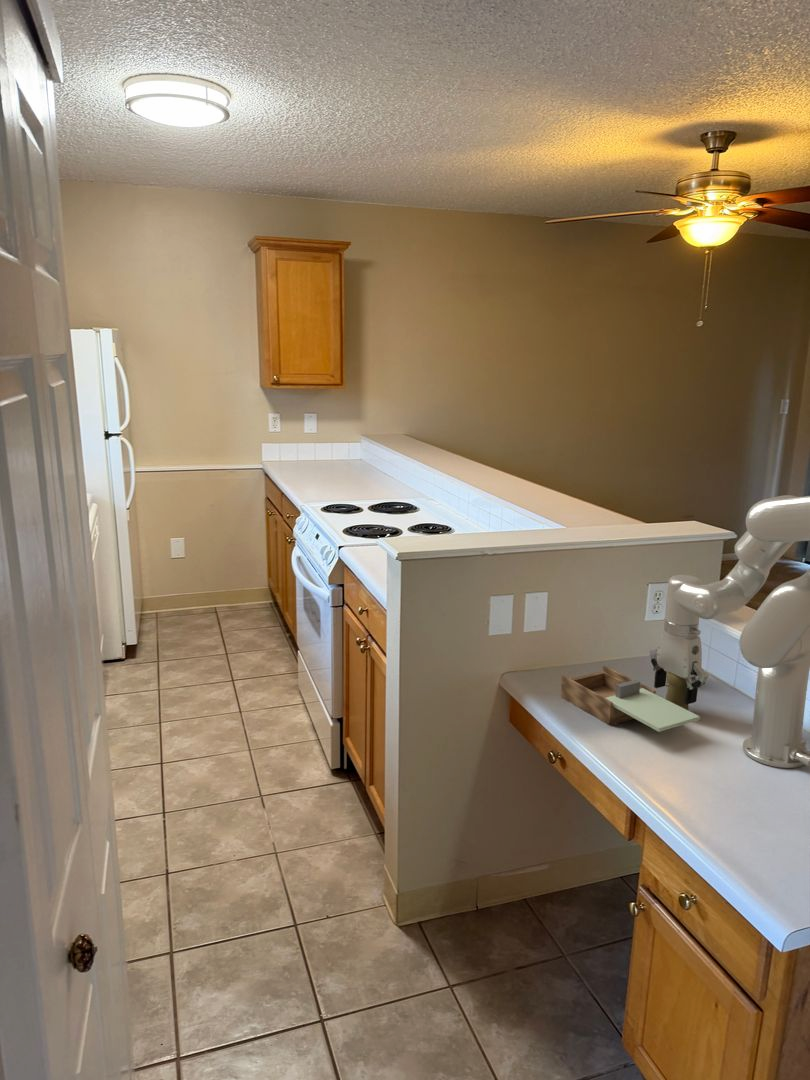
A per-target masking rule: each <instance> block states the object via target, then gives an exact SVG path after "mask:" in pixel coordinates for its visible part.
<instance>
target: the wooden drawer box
mask: <svg viewBox="0 0 810 1080" xmlns="http://www.w3.org/2000/svg"><path fill="white" fill-rule="evenodd" d="M632 680H634V679H633V678H630V677H628V676H627V675H625V674H622V673H621V672H618V671H617V670H614V669H613V668H610V667H609V666H606V665H602V671H598V672H593V673H589V674H585V675H581V676H577V677H573V678H569V677H568V676H566V675H564V674H563V675H561V685H560V686H561V688H560V689H561V693H560V697H561V698H562V699H564V700H566V701H567V702H569V703H570V704H572V705H573V706H575V707H577V708H579V709H581V710H582V711H584V712H585V713H587V714H589V715H590V716H592V717H594V718H595V719H597V720H599V721H601V722H603V723H604V724H606V725H608V726H613V725H616V724H620V723H623V722H627V721H631V720H634V719H635V718H633V717H631V716H629V715H628V714H626V713H624V712H622V711H620V710H619V709H617V708H615V707H613V706H612V702H611V701H610V700H608V699H606V697H610V696H614V695H616V684H620V683H624V682H628V681H632ZM641 688H644V689H646V690H648V691H650V692H652V693H654V694H656V690H655V689H653V688H651V687H650V686H647V685H645V684H643V683H641V682H640V689H641ZM635 720H636V719H635Z"/></svg>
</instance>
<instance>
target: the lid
mask: <svg viewBox="0 0 810 1080" xmlns="http://www.w3.org/2000/svg"><path fill="white" fill-rule="evenodd" d="M640 683H641V681H638V680H637V679H633V680H632V681H628V682H624V683H620V684H616V695H614V696H610V697H606V699H608V700H610V701H611V702H612V706H613V707H615V708H617V709H619V710H620V711H622V712H624V713H626V714H628V715H629V716H631V717H633V718H635V720H637V721H638V722H640V723H642V724H644V725H646V726H648V727H650V728H651V729H653V730H654V731H657V732H659V733H661V732H662V731H666V730H670V729H673V728H677V727H679V726H680V727H681V726H684V725H686V724H689V723H693V722H697V721H700V718H701V716H699V715H698V714H695V713H694V712H692V711H690V710H689V711H688V710H686V709H684V708H682V707H680V706H678V705H676V704H674V703H672V702H670V701H668V700H666V698H664V697H663V696H662V697H661V696H659V695H658V694H656V693H655V694H654V693H652V692H650V691H648V690H646V689H644V688H641V689H640Z"/></svg>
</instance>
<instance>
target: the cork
mask: <svg viewBox="0 0 810 1080" xmlns="http://www.w3.org/2000/svg"><path fill="white" fill-rule="evenodd" d="M667 682H668V683H669V686H668V688H667V691H666V696H665V699H666V700H668V701H670V702H672V703H674V704H676V705H678V706H680V707H682V708H684V709H686V710H688V711H690V710H689V709H690V708H689V704H685V692H686V688H688V686H687V683H686V681H685V679H684V678H681V677H679V676H677V675H675V674H673V673H671V672H669V673H668V675H667Z"/></svg>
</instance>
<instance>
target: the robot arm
mask: <svg viewBox="0 0 810 1080" xmlns="http://www.w3.org/2000/svg"><path fill="white" fill-rule="evenodd" d="M745 527H746V532H744V533H743V534H742V536H741V537H740V538H739V539H738V540H737V541H736V543H735V544H734V553H735V555H736V557H737V559H738V561H737V563H736V564H735V566H734V567H733V568H732V569H731V570H730V571H729V572H728V574H726V576H725V577H724V578H723V579H721V580H718V581H715V582H711V583H707V584H703V582H702V580H701V579H700V578H699V577H697V576H693V575H690V574H689V575H688V574H676V575H673V576H671V577H670V578H669V579H668V582H667V590H666V591H667V592H666V602H665V614H664V623H663V624H664V625H663V628H662V630H661V633H660V636H659V641H658V644H657V645H658V646H657V648H654V649H650V650H649V651H648V652H649V656H650V662H651V664H652V669H653V671H654V682H653V687H654V688H655V689H660V688H664V687H665V686H666V674H667V671H669V672H671V673H673V674H675V675H677V676H679V677H681V678H684V679H685V681H686V683H687V688H686V692H685V704H688V705H689V704H695V703H696V702H697V697H698V690H699V689H698V688H701V687H702V686H704V685H705V684H706V683H705V682H706V681H707V680H708V679H709V674H708V673H707V672H706V671H705V670H704V668H703V667H702V664H703V663H702V661H703V660H702V659H703V656H702V654H703V653H702V650H703V649H702V641H701V637H700V635H701V633H702V632H701V630H700V629H699V623H700V619H702V620H714V619H717V618H720V617H723V616H725V615H728V614H731V613H735V612H737V611H738V610H740V609H742V608H743V607H744V606H746V605H747V604H748V603H749V602H750V601H751V599H753V597H755V595H756V594H757V593H758V592H759V591H760V590H761V588H763V586H764V584H765V583H766V581H767V579H768V577H769V575H770V570H772V568H773V567H774V565H775V564H776V563H777V562H779V560H780V558H782V556H783V555H784V554H785V553H787V551H788V550H789V548H790V547H791V546H793V544H795V542H809V541H810V495H805V496H796V495H791V494H786V495H779V496H774V497H770V498H764V499H762V500H759V501H758V502H756V503H754V504H753V505H752V506H751V507H749V510H748V511H747V514H746V516H745ZM738 643H739V650H740V653H741V655H742V657H743V658H744V660H745V661H746V662H747V663H749V665H752V666H753V667H756V668H758V671H757V675H756V676H757V678H756V685H755V695H754V705H753V706H754V707H753V715H752V717H753V719H752V726H751V736H750V737H747V738H746V739H744V740H743V742H742V750H743V752H744V753H745V755H747V756H748V757H749V758H750V759H753V760H754V761H756V762H758V763H760V764H763V765H766V766H770V767H775V768H783V769H792V768H793V769H795V768H798V767H801V766H804V765H806V766H808V767H810V750H808V749H807V746H806V745H807V741H806V740H804V739H802V735H803V728H804V727H803V726H804V718H805V710H806V709H805V708H806V701H807V700H806V698H807V691H808V683H809V676H810V675H809V674H810V568H808V570H807V571H806V572H804V574H802V575H801V576H799V577H797V578H794V579H790V580H787V581H785V582H784V583H781V584H780V585H778V586H777V587H775V588H774V589H772V591H771V592H770V593H769V594H768V595H767V596H766V598H765V599H764V600H763V602H761V605H760V606H759V607H758V609H756V611H755V612H754V614H753V615H752V616H751V618H750V619H749V621H748V622H747V623H746V625H745V626H744V628H743V629H742V631H741V633H740V637H739V642H738ZM665 670H667V671H665ZM692 681H693V682H692Z"/></svg>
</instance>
